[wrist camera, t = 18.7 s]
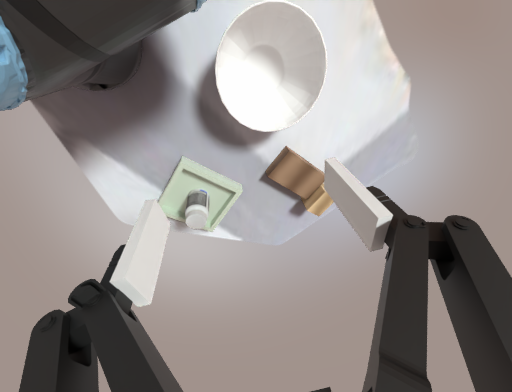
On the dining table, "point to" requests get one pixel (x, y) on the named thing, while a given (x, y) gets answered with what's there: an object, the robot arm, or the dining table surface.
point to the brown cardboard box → (295, 173)
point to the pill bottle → (197, 208)
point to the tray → (200, 177)
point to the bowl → (271, 65)
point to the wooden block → (318, 201)
